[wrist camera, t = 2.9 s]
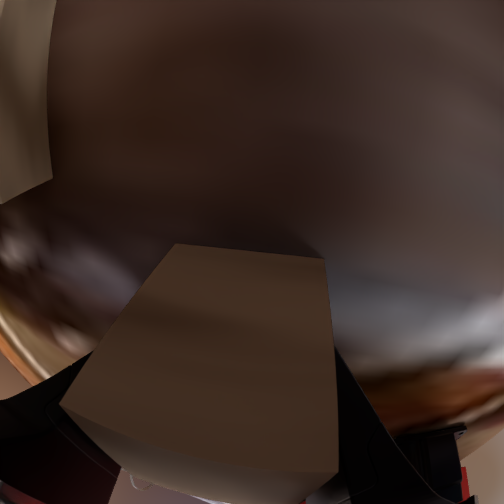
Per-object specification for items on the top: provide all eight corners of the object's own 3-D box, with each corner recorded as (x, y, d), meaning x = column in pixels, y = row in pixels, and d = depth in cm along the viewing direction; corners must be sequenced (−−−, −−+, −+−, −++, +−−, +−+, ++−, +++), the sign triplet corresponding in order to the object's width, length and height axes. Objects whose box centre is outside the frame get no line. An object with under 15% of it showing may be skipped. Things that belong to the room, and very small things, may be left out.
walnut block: (301, 359, 10) (289, 509, 5) (188, 343, 11) (133, 476, 5) (324, 258, 8) (338, 472, 3) (175, 243, 9) (59, 404, 3)
